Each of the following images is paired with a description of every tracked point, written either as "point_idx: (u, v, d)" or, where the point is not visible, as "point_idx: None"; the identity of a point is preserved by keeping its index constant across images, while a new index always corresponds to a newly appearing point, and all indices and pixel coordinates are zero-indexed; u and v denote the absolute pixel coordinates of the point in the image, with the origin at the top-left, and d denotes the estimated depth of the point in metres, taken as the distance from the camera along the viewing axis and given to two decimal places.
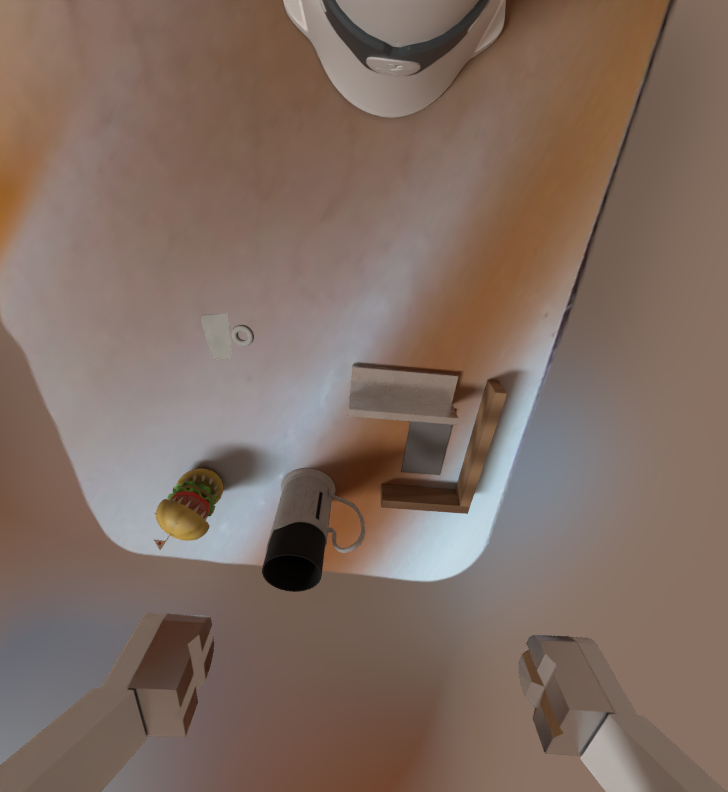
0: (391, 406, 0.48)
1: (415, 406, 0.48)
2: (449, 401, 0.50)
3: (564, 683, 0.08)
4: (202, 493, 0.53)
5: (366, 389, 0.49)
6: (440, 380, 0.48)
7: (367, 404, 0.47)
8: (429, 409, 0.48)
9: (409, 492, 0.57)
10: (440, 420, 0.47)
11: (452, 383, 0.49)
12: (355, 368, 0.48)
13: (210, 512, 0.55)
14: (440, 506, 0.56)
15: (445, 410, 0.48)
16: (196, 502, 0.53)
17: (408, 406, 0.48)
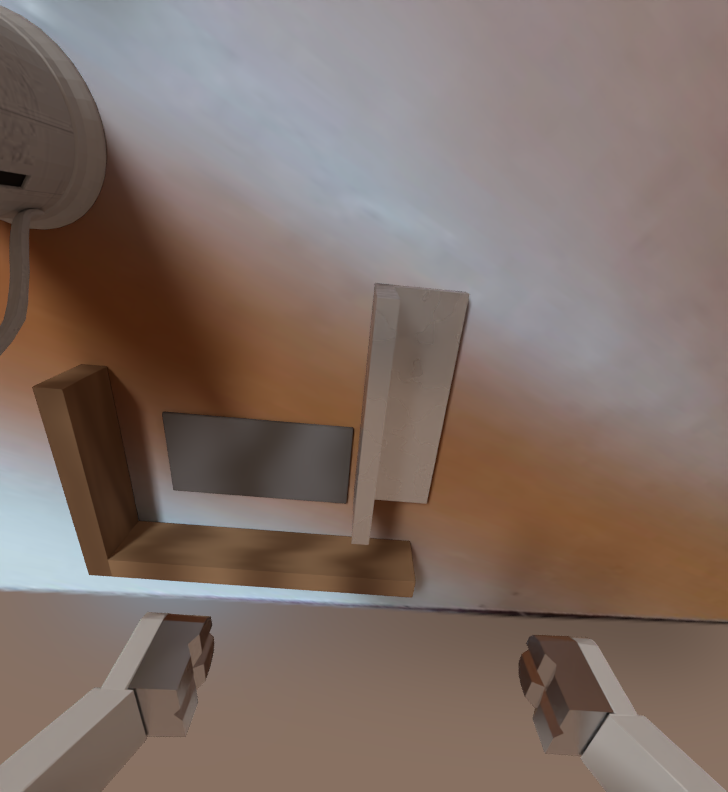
0: None
1: None
2: None
3: (564, 683, 0.08)
4: None
5: (404, 328, 0.20)
6: (419, 475, 0.24)
7: None
8: None
9: (105, 441, 0.22)
10: (362, 514, 0.20)
11: (412, 496, 0.25)
12: (465, 302, 0.19)
13: None
14: (91, 523, 0.22)
15: None
16: None
17: None
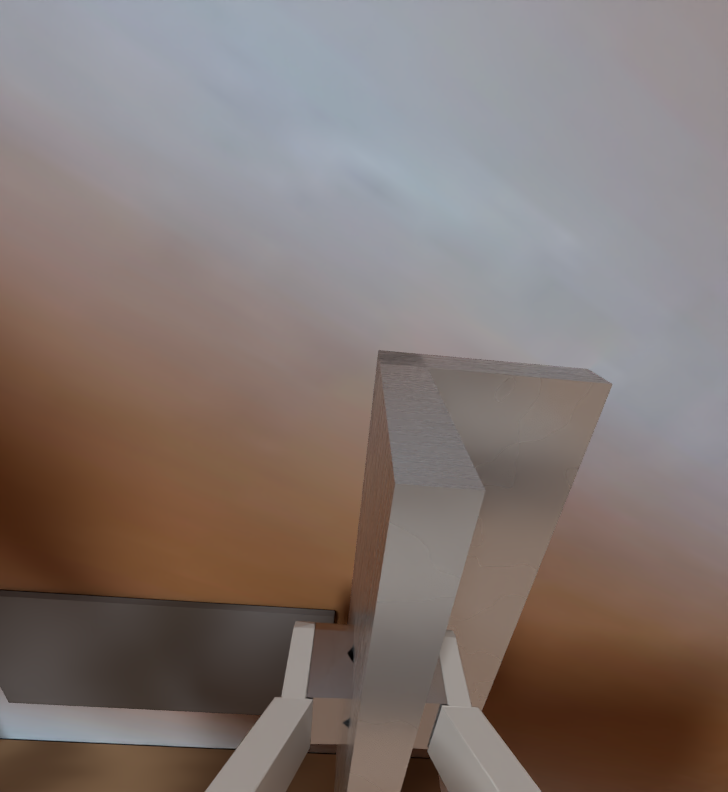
0: None
1: None
2: None
3: None
4: None
5: None
6: None
7: None
8: None
9: None
10: None
11: None
12: (600, 401, 0.08)
13: None
14: None
15: None
16: None
17: None
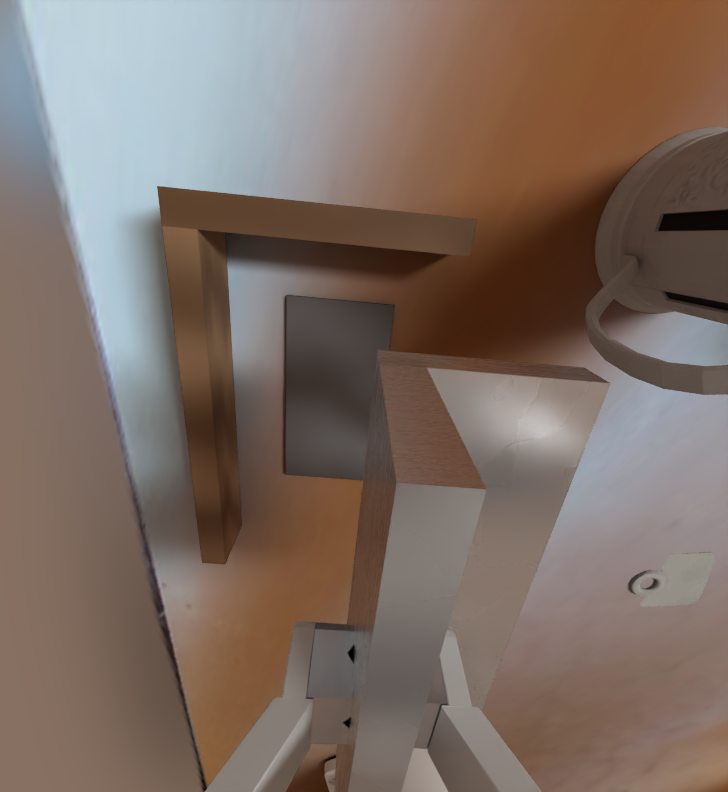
0: None
1: None
2: None
3: None
4: None
5: None
6: None
7: None
8: None
9: None
10: None
11: None
12: (598, 401, 0.08)
13: None
14: (266, 225, 0.16)
15: None
16: None
17: None
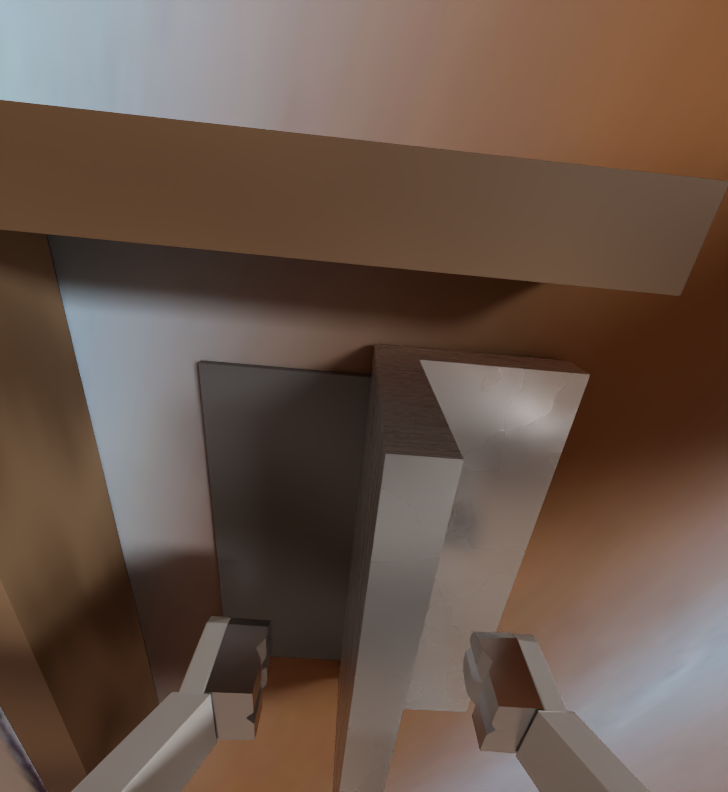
0: None
1: None
2: None
3: (497, 680, 0.08)
4: None
5: None
6: (456, 676, 0.13)
7: None
8: None
9: None
10: None
11: (441, 702, 0.14)
12: (579, 391, 0.09)
13: None
14: (55, 201, 0.05)
15: None
16: None
17: None
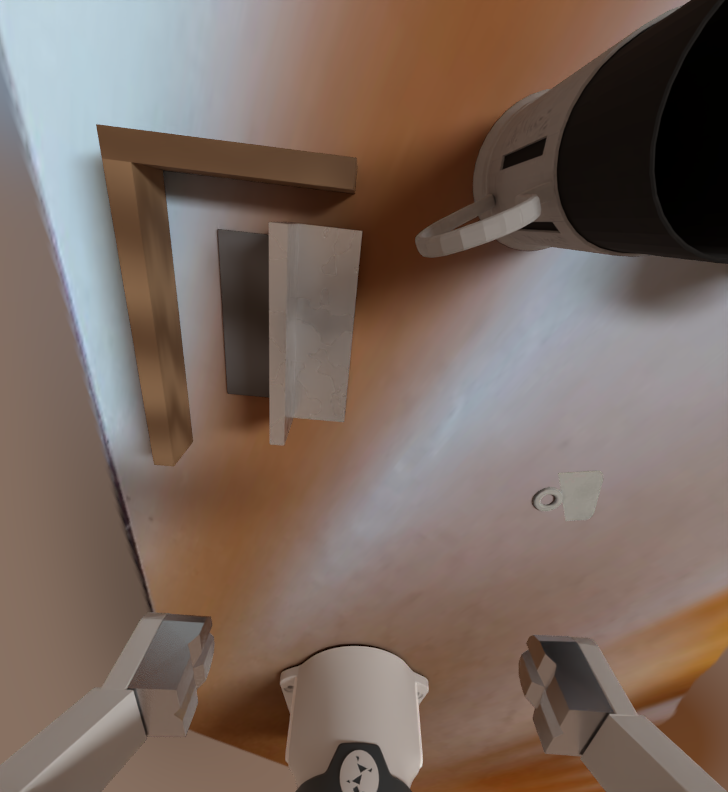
0: (290, 319, 0.23)
1: (290, 364, 0.25)
2: (295, 413, 0.29)
3: (564, 683, 0.08)
4: None
5: (311, 261, 0.24)
6: (335, 396, 0.28)
7: (291, 267, 0.22)
8: (288, 391, 0.25)
9: (281, 183, 0.22)
10: (276, 417, 0.24)
11: (331, 415, 0.29)
12: (359, 238, 0.23)
13: None
14: (186, 159, 0.20)
15: (289, 416, 0.26)
16: None
17: (290, 351, 0.24)
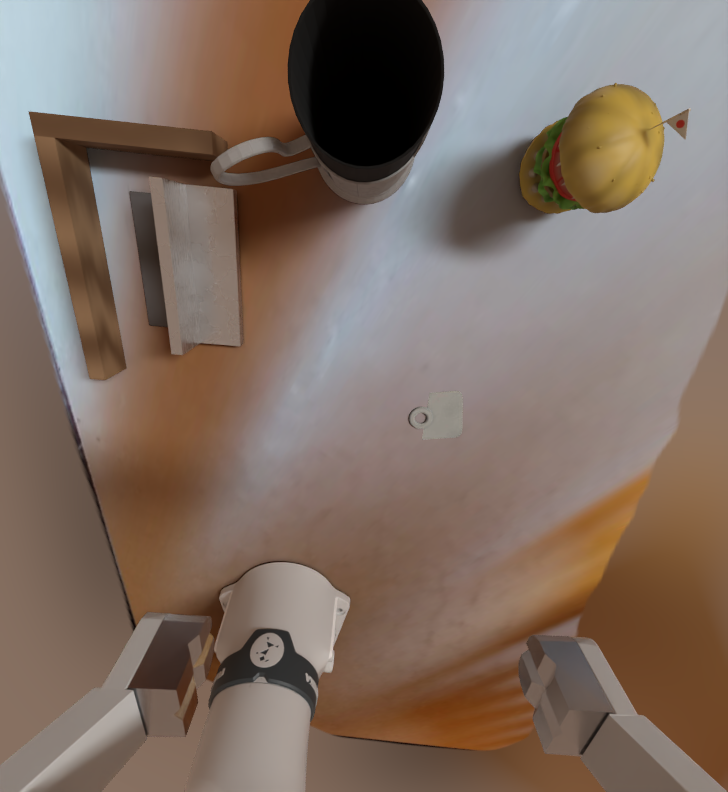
0: (179, 254, 0.31)
1: (186, 292, 0.33)
2: (201, 339, 0.37)
3: (564, 683, 0.08)
4: (552, 189, 0.28)
5: (198, 213, 0.32)
6: (231, 323, 0.36)
7: (175, 213, 0.30)
8: (185, 313, 0.33)
9: (168, 153, 0.30)
10: (173, 330, 0.32)
11: (229, 340, 0.37)
12: (231, 194, 0.32)
13: (557, 131, 0.27)
14: (93, 135, 0.28)
15: (189, 335, 0.34)
16: None
17: (184, 281, 0.33)
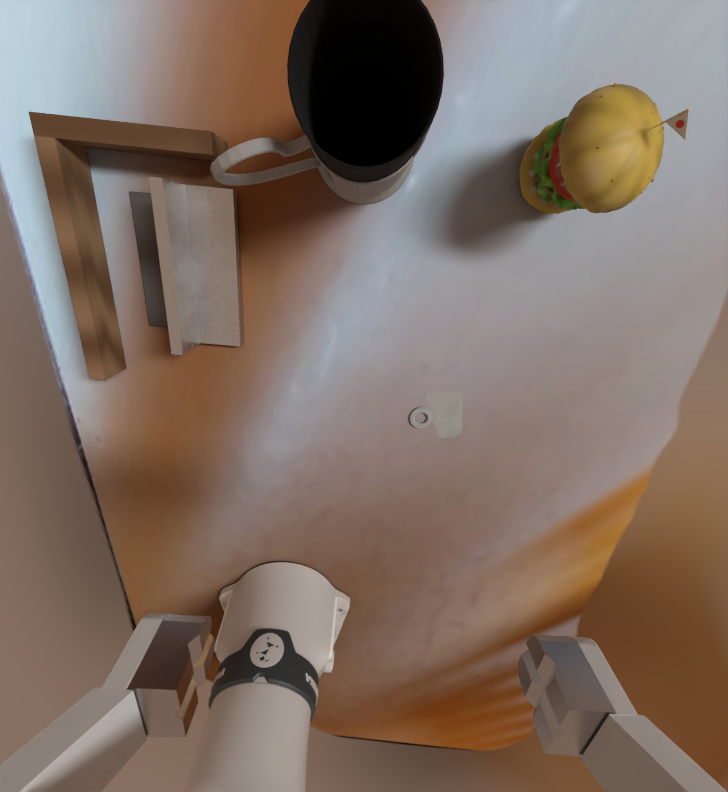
0: (179, 254, 0.31)
1: (186, 292, 0.33)
2: (201, 339, 0.37)
3: (564, 683, 0.08)
4: (552, 189, 0.28)
5: (198, 213, 0.32)
6: (230, 323, 0.36)
7: (175, 213, 0.30)
8: (185, 313, 0.33)
9: (168, 154, 0.30)
10: (173, 330, 0.32)
11: (229, 340, 0.37)
12: (231, 194, 0.32)
13: (557, 131, 0.27)
14: (93, 135, 0.28)
15: (189, 336, 0.34)
16: None
17: (184, 281, 0.33)
